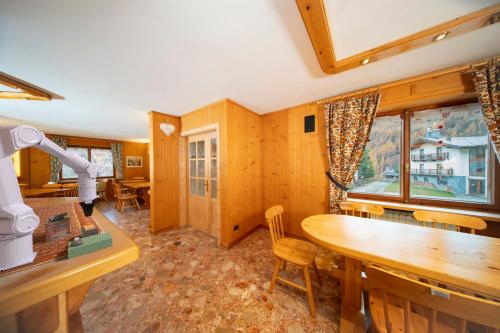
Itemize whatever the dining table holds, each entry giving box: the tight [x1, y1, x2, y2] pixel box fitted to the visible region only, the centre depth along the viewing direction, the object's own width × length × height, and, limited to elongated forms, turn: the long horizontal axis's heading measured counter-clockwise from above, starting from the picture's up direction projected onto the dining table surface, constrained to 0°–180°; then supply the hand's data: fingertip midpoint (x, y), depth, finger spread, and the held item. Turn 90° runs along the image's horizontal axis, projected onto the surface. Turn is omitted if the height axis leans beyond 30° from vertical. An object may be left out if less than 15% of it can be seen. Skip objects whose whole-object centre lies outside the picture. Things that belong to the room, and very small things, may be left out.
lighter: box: [43, 212, 72, 243], centre depth 67 cm, size 8×3×10 cm, turn 179°
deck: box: [67, 230, 113, 260], centre depth 59 cm, size 11×13×4 cm
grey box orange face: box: [80, 223, 99, 239], centre depth 67 cm, size 4×7×5 cm, turn 52°
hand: (88, 216), depth 72 cm, fingers closed
